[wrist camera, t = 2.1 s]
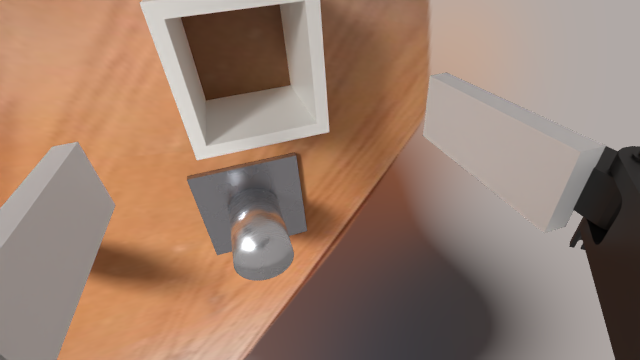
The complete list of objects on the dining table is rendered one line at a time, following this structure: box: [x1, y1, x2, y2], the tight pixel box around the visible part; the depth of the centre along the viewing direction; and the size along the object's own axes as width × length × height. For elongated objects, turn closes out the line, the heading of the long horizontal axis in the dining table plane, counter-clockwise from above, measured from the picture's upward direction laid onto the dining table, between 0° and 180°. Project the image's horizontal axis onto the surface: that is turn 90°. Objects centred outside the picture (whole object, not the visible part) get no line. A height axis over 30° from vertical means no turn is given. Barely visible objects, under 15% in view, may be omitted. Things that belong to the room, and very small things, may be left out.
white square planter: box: [140, 0, 329, 160], centre depth 21 cm, size 9×9×8 cm
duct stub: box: [187, 153, 307, 280], centre depth 30 cm, size 10×10×8 cm
